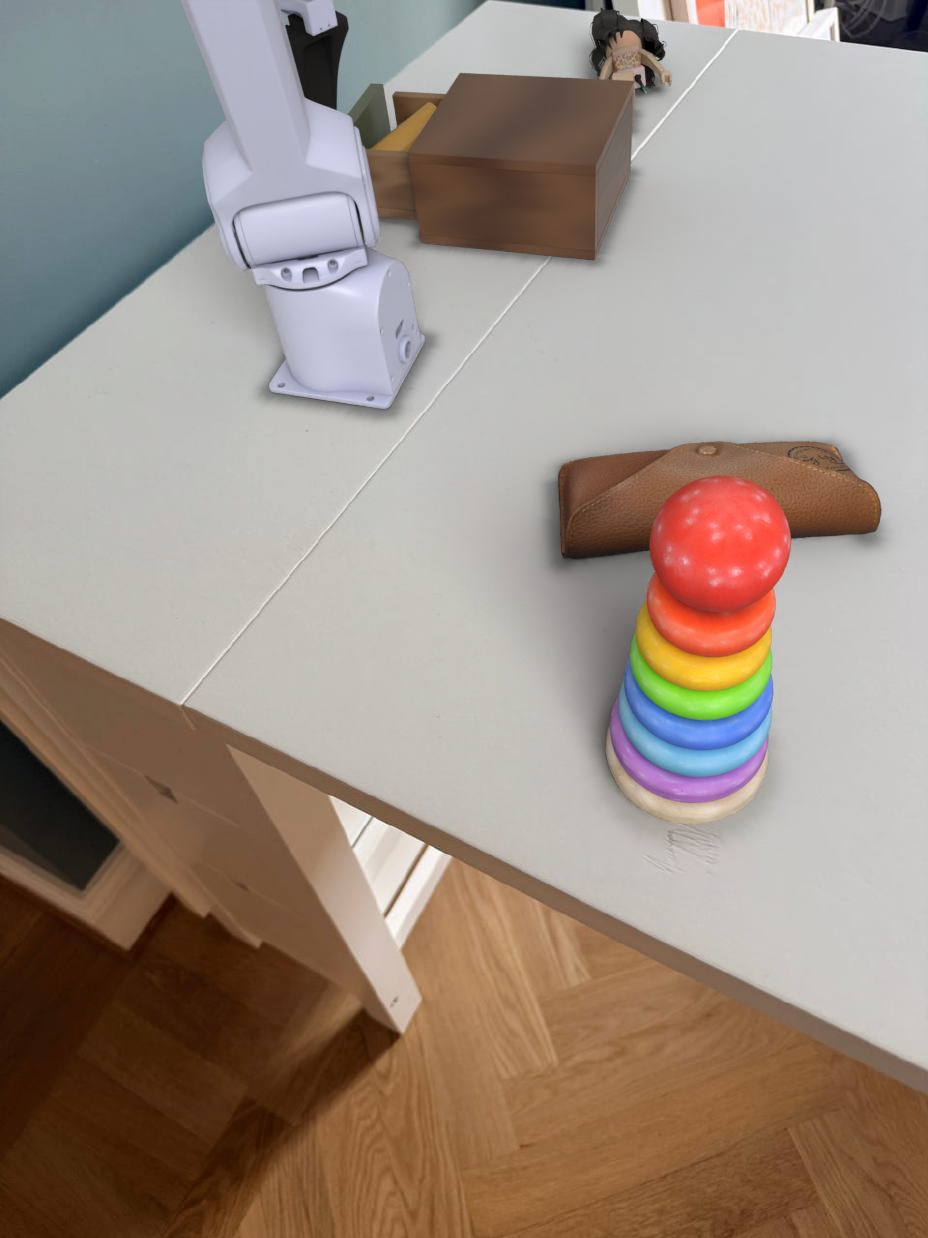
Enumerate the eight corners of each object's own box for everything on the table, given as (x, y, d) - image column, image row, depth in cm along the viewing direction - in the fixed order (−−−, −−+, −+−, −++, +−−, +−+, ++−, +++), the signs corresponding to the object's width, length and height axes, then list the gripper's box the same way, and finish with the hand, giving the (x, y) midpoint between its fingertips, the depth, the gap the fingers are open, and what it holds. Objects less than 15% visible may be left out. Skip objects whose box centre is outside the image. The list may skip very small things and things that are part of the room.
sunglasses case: (837, 435, 58) (876, 402, 52) (851, 546, 58) (891, 526, 51) (551, 463, 60) (553, 434, 53) (560, 572, 59) (564, 556, 52)
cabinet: (421, 243, 77) (406, 152, 71) (469, 161, 83) (459, 72, 77) (595, 260, 73) (595, 165, 67) (630, 173, 79) (634, 80, 73)
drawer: (283, 215, 80) (264, 148, 75) (335, 146, 86) (321, 80, 81) (485, 234, 75) (479, 164, 70) (525, 159, 81) (521, 90, 76)
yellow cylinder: (455, 133, 77) (432, 97, 76) (395, 182, 77) (371, 146, 75) (444, 140, 80) (422, 106, 79) (387, 187, 80) (364, 153, 78)
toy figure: (681, 130, 83) (658, 45, 91) (678, 58, 78) (654, -25, 86) (601, 148, 84) (585, 63, 93) (593, 79, 79) (577, -5, 87)
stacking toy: (799, 765, 47) (902, 512, 31) (683, 863, 44) (734, 641, 29) (685, 664, 51) (727, 398, 36) (573, 749, 48) (568, 503, 33)
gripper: (138, -110, 63) (205, 99, 73) (246, -61, 55) (302, 163, 66) (228, -143, 65) (280, 65, 76) (343, -100, 57) (382, 124, 68)
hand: (296, 108), depth 71 cm, fingers open, 7 cm apart
